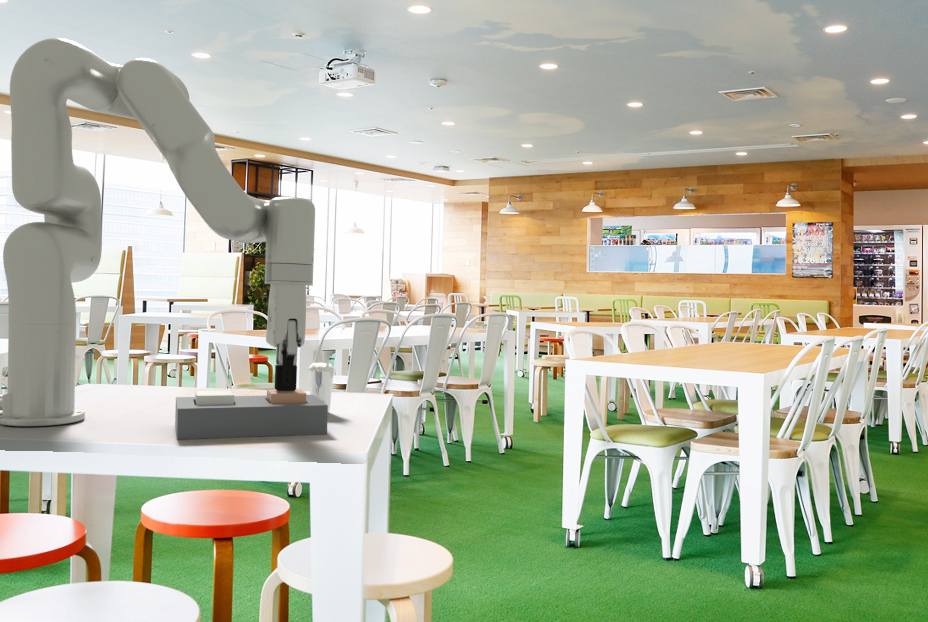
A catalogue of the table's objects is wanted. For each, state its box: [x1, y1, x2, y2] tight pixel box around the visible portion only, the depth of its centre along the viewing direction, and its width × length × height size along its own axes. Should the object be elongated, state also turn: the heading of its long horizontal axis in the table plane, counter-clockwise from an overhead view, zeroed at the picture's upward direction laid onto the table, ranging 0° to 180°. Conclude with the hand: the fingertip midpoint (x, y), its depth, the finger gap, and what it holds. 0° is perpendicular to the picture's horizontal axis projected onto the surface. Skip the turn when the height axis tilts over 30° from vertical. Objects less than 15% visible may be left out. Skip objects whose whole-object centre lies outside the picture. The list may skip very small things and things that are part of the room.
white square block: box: [194, 390, 235, 405], centre depth 123 cm, size 5×5×4 cm
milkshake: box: [308, 358, 335, 414], centre depth 143 cm, size 4×5×10 cm
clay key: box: [266, 388, 307, 404], centre depth 127 cm, size 5×5×4 cm
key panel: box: [174, 394, 329, 440], centre depth 125 cm, size 22×12×4 cm, turn 111°
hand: (285, 390), depth 127 cm, fingers closed
